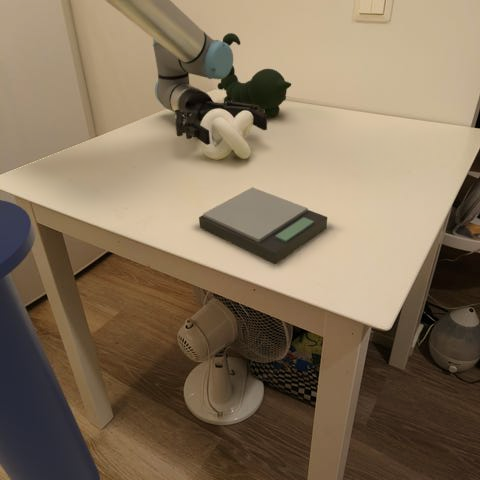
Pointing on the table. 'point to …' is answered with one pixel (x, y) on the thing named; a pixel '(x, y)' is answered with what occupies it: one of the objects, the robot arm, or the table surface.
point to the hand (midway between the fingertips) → (237, 130)
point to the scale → (263, 224)
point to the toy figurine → (255, 86)
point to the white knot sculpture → (227, 133)
